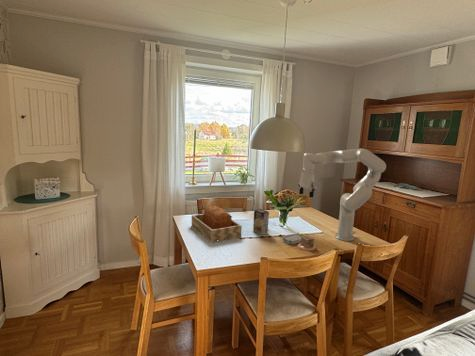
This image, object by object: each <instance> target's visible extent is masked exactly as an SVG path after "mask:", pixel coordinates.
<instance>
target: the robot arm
mask: <svg viewBox="0 0 475 356" xmlns="http://www.w3.org/2000/svg"><path fill="white" fill-rule="evenodd" d="M302 159H303V160H302V169H301V171H302V172H301V173H300V177H299V181H297V185H298V189H299V191H298V192H299V195H304V190H305V189H309V196H308V198H313V197H314V192H315V191H316V190H317V188H318V186H317V185H316V183H315V165H316V166H317V165H318V166H325V164H326V163H337V164H338V163H339V164H346V163H348V164H349V163H358V162H359V163H360V162H361V163H362V164H363V165H365V166H366V167H367V172H366V175H364V176H363V178H361V179H360V180H359V181H358V182H357V183H356V184H355V185H354V186H353V189H352V191H353V192H352V193H349V192H345V193H344V194H342V195H341V197H340V201H339V205H340V206H339V217H338V224H337V225H338V227H337V233H335V234H334V237H335V238H336V239H338V240H340V241H345V242H352V241H354V240H355V236H354V235H356V233H357V231H356V230H354V221H355V215H356V214H355V213H356V212H355V211H356V210H358V209H359V208H360V207H362V206H363V205H364V204H365V203H366V202H368V200H370V198H371V197H372V194H373V188H374V186H376V185H377V184H378V182H379V181H380V180H381V176H382V173H384V172H385V171H386V170H387V163H386V162H385V161H384V160H383V159H381V158H380V157H379V156H377V155H376V154H374V153H373V152H371V151H370V150H369V149H367V148H354V149H344V150H343V149H342V150H334V151H324V152H318V153H309V152H305V153H304V154H303V158H302Z"/></svg>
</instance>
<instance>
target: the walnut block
mask: <svg viewBox="0 0 475 356" xmlns="http://www.w3.org/2000/svg"><path fill="white" fill-rule="evenodd" d="M300 237H301V242H300V243H301V246H303V247H305V248H311V247H313V246H315V244H314V243H315V238H314V237H311V236H309V235H305V236H300Z"/></svg>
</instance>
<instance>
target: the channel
mask: <svg viewBox="0 0 475 356" xmlns="http://www.w3.org/2000/svg"><path fill="white" fill-rule="evenodd" d="M294 235H298V236H300V232H295V233H291V234H287V235H285V234H284V235H282V241H284V238H286V237H290V236H294ZM299 243H301V238H299V239H295V240H291V244H290V245H295V244H299Z"/></svg>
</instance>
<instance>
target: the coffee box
mask: <svg viewBox="0 0 475 356" xmlns="http://www.w3.org/2000/svg"><path fill="white" fill-rule="evenodd" d="M269 215H270V212H269V211H268V210H265V209H262V208H257V209H255V210H254V211H253V225H252V227H253V229H252V231H253V232H254V233H256V234H258V233H259V234H258V235H261V234H262V236H264V235H266V234H268V233H269V231H268V230H269V219H270V218H269ZM263 234H264V235H263Z"/></svg>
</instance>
